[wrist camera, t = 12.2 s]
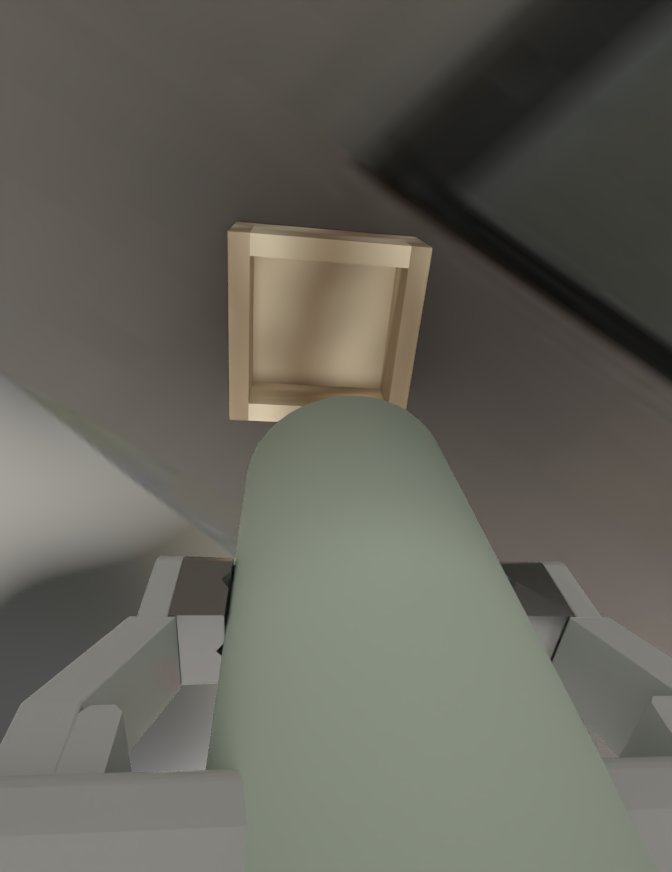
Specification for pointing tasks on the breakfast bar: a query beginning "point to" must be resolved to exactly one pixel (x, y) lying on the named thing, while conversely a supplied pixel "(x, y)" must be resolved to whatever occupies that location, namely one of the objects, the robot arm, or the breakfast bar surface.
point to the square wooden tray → (320, 316)
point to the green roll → (394, 672)
